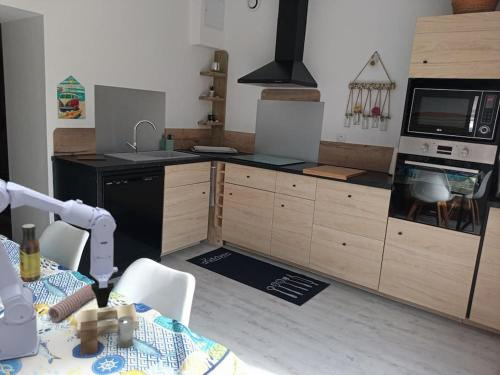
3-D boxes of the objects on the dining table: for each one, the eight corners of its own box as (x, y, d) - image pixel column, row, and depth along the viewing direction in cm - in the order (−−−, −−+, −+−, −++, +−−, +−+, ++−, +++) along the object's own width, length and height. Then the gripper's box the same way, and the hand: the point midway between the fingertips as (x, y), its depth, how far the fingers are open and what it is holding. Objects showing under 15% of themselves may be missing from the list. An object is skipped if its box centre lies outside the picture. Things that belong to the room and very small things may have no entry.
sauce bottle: (21, 275, 136) (19, 222, 132) (41, 273, 139) (39, 221, 135) (19, 283, 130) (16, 228, 126) (40, 281, 133) (38, 227, 129)
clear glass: (117, 349, 100) (118, 325, 98) (116, 340, 103) (117, 317, 102) (133, 346, 101) (134, 322, 100) (132, 338, 105) (132, 315, 104)
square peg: (80, 355, 96) (80, 330, 95) (80, 346, 100) (80, 322, 98) (97, 352, 98) (97, 328, 96) (97, 343, 101) (97, 319, 100)
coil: (59, 311, 108) (99, 284, 125) (46, 306, 109) (87, 280, 126) (58, 325, 109) (98, 297, 126) (45, 320, 110) (86, 293, 127)
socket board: (77, 338, 103) (77, 329, 102) (78, 318, 112) (77, 311, 111) (137, 328, 109) (137, 321, 109) (134, 311, 118) (134, 304, 118)
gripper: (120, 263, 98) (119, 311, 100) (115, 244, 111) (114, 287, 113) (90, 266, 95) (90, 315, 97) (89, 245, 108) (89, 289, 110)
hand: (101, 300), depth 105 cm, fingers open, 7 cm apart
